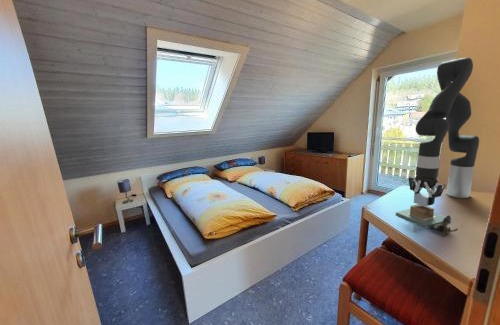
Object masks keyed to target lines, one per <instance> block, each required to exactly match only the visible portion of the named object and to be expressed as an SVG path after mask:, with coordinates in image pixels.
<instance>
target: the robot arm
mask: <svg viewBox="0 0 500 325" xmlns="http://www.w3.org/2000/svg"><path fill="white" fill-rule="evenodd" d="M473 67H474V64H473V59H472V58H471V57H462V58H456V59H452V60H447V61H444V62H441V63H440V64H439V65H438V66H437V69H436V77H437V82H438V84H439V88H440V92H438V93H437V94H436V95H435V97H434V98H433V99H432V101H431V103H430V105H429V108H428V110H427V111H426V112H425V113H424V115H423V116H421V118H420V119H419V120H418V121H417V123H416V126H415V132H416V133H417V135H418V136H424V137H425V136H426V137H434V138H433V139H432V140H425V141H422V142H420V143H419V147H418V156H417V159H416V160H417V161H416V167H415V176H412V177H408V184H409V190H410V191H413V193H414V194H418V193H421V190H422V189H425V190H426V192H427V194H429V199H428V205H430V206H434V204H435V200H436V198H439V197H441V196H442V194H443V192H444V190H445V188H446V195H447V196H449V197H453V198H456V199H457V198H459V199H467V198H470V196H471V190H472V185H473V177H474V176H473V175H474V170H475V163H476V159H477V154H478V150H479V145H480V138H479V136H478V135H468V134H467V135H466V134H465V135H462V134H459V132H460V130H461V129H462V127H463V126H465V124H466V123H467V122H468V120H470V118H471V116H472V107H471V101H470V100H469V99H468V98H467V97H466V96H465V95H464V94H462V93H461V90H462V89H463V88H464V86H465V85H466V83H467V82H468V80H469V79H470V77H471V75H472V73H473V69H474V68H473ZM447 134H448V137H447V138H448V148H449V150H450V151H451V152H453V153H462V154H465V155H464V156H461V157H457V158H456V157H455V158H452V159H451V160H450V162H449V163H450V164H449V172H448V179H447V180H448V181H447V187H446V184H444V183H439V182H438V178H439V170H440V161H441V160H440V156H441V148H442V144H443V141H444V139H445V137H446V136H447ZM414 194H413V195H414Z"/></svg>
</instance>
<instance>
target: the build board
mask: <svg viewBox="0 0 500 325" xmlns="http://www.w3.org/2000/svg"><path fill="white" fill-rule="evenodd" d="M395 216H399V217H401V218H403V219H405V220H408V221H410V222H412V223H415V224H417V225H419V226H421V227H424V228H426V229H431V228H432V226H433V225H438V224H442V222H443V219H444V218H445V217H446V216H443V215H441V214H438V213H435V212H434V215H433V217H431V218H427V219H424V220H423V219H421V218H419V217H416V216H414V215H411V214H410V208H408V209H403V210H399V211H396V212H395Z"/></svg>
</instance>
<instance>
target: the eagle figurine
mask: <svg viewBox="0 0 500 325" xmlns="http://www.w3.org/2000/svg"><path fill="white" fill-rule="evenodd" d="M444 217H445V218H444V219H443V222H442V224H438V225H433V226H432V227H431V228H432V229H434V230H435V229H439V230H440V232H441V233H442V234H443V235H442V238H445V237H446V236H447V235H448V234H449V235H451V233H452V232H456V231H458V230H459V229H458V228H455V229H452V228H451V227H450V226H449V227H448V225H449V224H450V223H451V220H452V219H451V215H446V216H444Z"/></svg>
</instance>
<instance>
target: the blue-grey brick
mask: <svg viewBox="0 0 500 325" xmlns="http://www.w3.org/2000/svg"><path fill="white" fill-rule="evenodd" d="M413 195H414V196H413V204H415V205H417V204H419V205H422V206H425V207H426V206H428V207H431V205H428V199H429V194H428V193H424V192H420V193H418V194H413Z"/></svg>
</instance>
